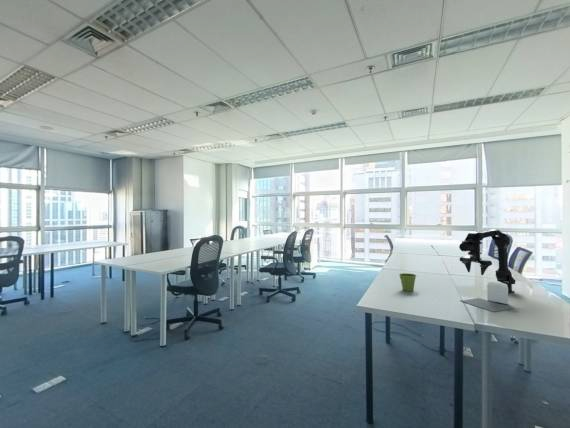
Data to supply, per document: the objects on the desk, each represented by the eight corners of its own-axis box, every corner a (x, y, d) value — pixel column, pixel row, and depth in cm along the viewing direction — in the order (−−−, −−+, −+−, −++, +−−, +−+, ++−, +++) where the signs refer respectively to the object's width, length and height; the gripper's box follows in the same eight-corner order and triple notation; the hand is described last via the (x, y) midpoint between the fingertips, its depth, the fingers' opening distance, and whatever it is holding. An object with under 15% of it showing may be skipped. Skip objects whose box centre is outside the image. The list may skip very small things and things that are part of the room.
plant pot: (414, 288, 196) (414, 273, 196) (418, 292, 184) (418, 276, 184) (397, 287, 199) (397, 272, 199) (400, 292, 187) (400, 276, 187)
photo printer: (486, 300, 164) (486, 280, 165) (488, 299, 167) (488, 280, 168) (507, 304, 156) (507, 283, 157) (508, 303, 159) (509, 283, 160)
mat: (479, 298, 169) (479, 298, 169) (513, 308, 150) (513, 308, 150) (460, 301, 165) (460, 300, 165) (493, 312, 146) (493, 311, 146)
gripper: (453, 249, 183) (453, 271, 183) (479, 253, 166) (480, 277, 165) (465, 248, 186) (465, 270, 186) (492, 252, 169) (493, 276, 168)
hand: (475, 273), depth 177 cm, fingers open, 9 cm apart
